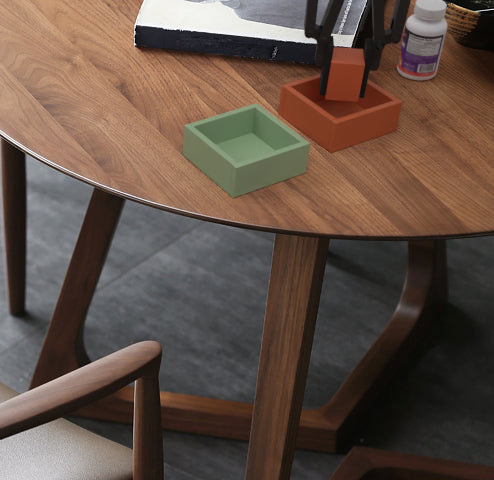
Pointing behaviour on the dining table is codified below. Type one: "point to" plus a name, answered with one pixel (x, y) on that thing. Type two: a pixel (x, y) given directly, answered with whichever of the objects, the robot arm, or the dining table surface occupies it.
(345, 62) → the red block
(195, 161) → the sage bin
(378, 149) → the dining table surface
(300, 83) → the terracotta bin
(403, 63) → the pill bottle
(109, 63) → the dining table surface
